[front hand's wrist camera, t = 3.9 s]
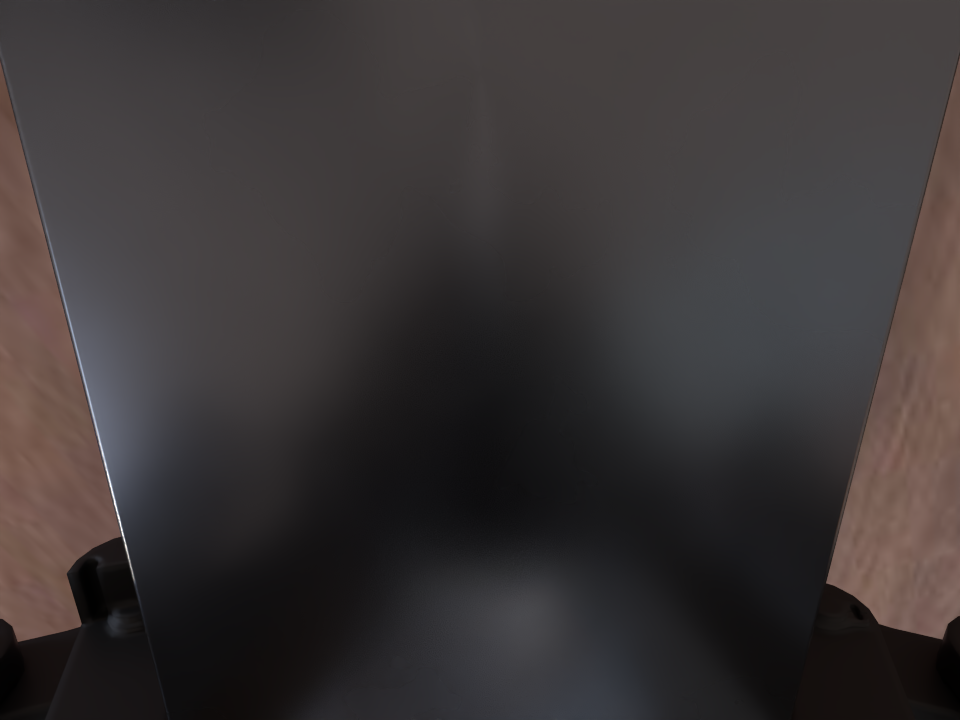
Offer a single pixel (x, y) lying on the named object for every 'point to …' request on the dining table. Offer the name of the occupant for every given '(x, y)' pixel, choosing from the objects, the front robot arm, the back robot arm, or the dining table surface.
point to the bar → (479, 333)
